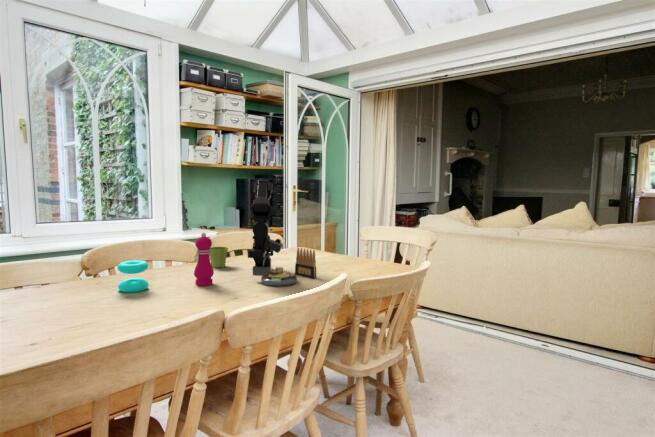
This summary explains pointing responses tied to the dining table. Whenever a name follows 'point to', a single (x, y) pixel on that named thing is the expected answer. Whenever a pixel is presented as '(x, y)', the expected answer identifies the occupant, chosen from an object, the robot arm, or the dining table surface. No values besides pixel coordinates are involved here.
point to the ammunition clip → (305, 264)
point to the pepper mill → (203, 262)
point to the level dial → (271, 272)
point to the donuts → (133, 283)
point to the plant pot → (218, 256)
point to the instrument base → (279, 281)
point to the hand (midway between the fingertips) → (260, 271)
